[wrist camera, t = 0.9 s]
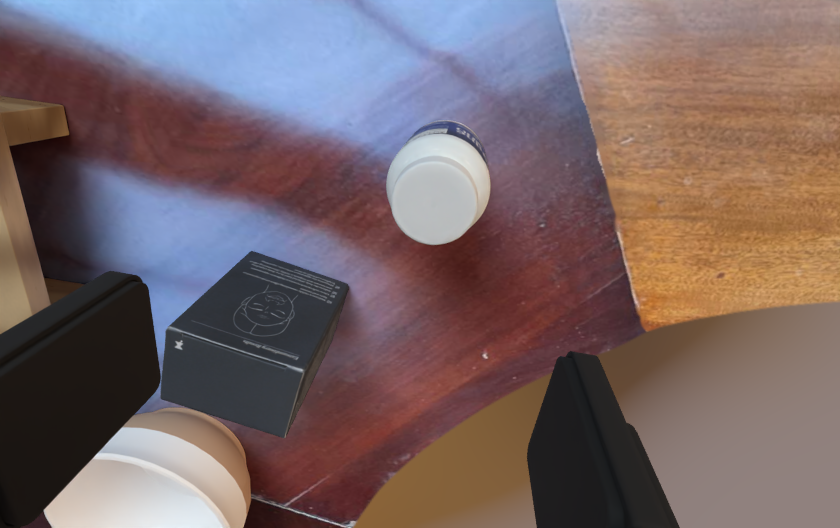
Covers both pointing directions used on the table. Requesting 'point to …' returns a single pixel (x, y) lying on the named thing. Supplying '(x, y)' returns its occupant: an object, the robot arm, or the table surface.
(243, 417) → the box
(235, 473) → the bowl
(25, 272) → the shelf
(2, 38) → the table surface
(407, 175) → the pill bottle
